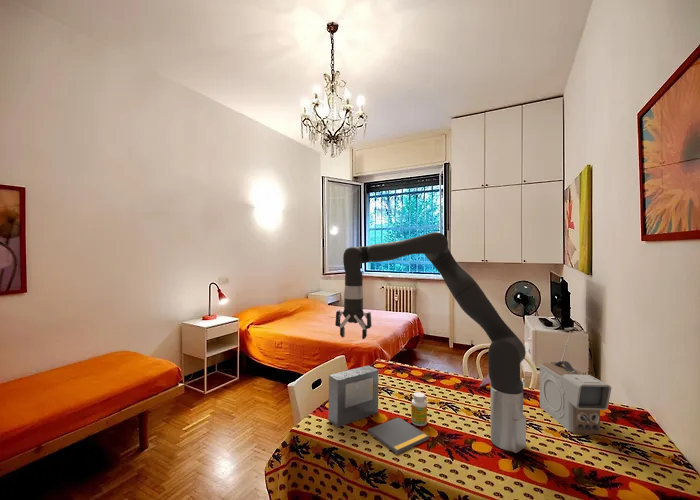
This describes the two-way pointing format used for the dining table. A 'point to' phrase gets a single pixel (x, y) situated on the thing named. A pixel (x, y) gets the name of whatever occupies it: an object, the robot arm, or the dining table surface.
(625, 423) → the dining table surface
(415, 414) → the supplement bottle
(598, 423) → the portable television
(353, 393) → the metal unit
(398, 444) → the mat
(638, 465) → the dining table surface
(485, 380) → the lily
